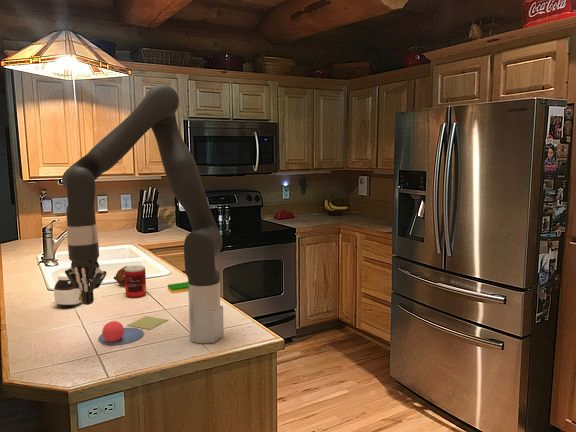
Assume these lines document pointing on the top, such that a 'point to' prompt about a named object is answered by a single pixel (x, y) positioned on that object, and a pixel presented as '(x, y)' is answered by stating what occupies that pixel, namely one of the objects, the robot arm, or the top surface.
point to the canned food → (135, 281)
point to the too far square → (147, 322)
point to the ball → (113, 331)
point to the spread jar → (66, 293)
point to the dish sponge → (178, 287)
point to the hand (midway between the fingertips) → (88, 303)
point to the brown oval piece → (120, 276)
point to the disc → (125, 337)
